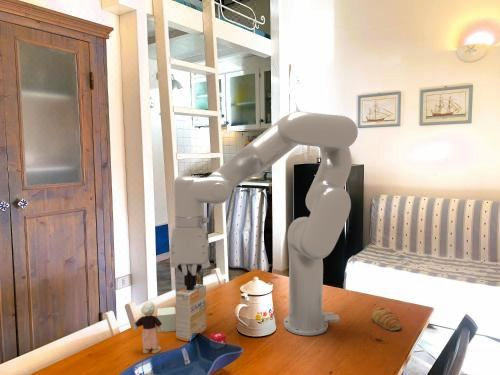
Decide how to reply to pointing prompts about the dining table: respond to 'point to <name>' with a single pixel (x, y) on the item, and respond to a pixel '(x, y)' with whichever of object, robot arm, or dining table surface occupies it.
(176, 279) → the coffee box
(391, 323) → the pastry
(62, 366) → the dining table surface
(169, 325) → the sage block
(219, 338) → the dice
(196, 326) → the supplement box
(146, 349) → the grandmother figurine
